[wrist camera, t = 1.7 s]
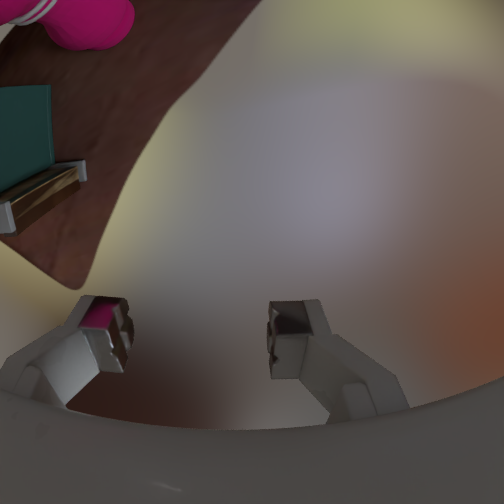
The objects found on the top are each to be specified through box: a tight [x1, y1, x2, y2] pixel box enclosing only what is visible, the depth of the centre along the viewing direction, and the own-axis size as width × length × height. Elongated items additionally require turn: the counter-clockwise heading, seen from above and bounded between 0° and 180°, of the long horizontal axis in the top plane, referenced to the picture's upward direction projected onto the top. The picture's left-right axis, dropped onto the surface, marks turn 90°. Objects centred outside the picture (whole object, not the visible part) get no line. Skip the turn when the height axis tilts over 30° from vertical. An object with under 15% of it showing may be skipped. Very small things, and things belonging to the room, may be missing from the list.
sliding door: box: [0, 166, 80, 237], centre depth 21 cm, size 2×7×11 cm, turn 88°
